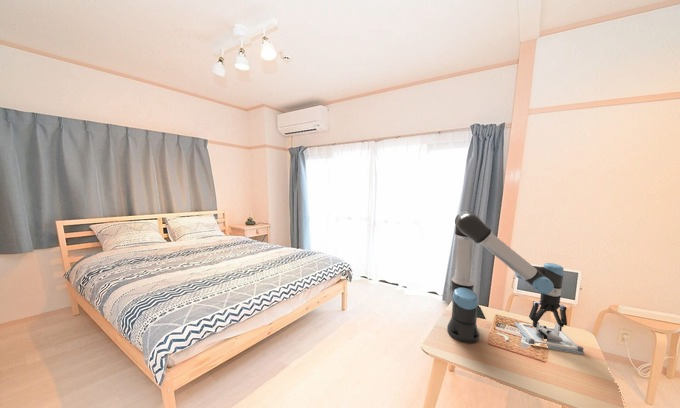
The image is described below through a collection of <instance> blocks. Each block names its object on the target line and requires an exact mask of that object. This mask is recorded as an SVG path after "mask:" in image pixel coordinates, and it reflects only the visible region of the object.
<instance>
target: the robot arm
mask: <svg viewBox="0 0 680 408" xmlns="http://www.w3.org/2000/svg"><path fill="white" fill-rule="evenodd" d="M454 223H455V229H454V230H455V231H454V235H455V237H456V238H457V242H456V253H455V269H454V276H453V277H452V278H451V283H450V286H449V293H450V297H451V302H452V309H451V318H450V319H449V322H448V324H447V328H446V329H447V334H448V335H449V336H450V337H451V338H453V339H454V340H456V341H458V342H461V343H465V344H475V343H478V342H479V341H480V333H479V328H478V326H477V319H478V318H477V308H478V305H479V296H478V294H477V293H476V292H475V291H474V289H475V288H474V287H475V282H474V281H473V280H472V275H473V264H474V263H473V262H474V250H475V244H477V245H481V246H482V247H483V248H485V249H486V250H488V251H489V252H490V253H491V254H493V256H494V257H496V258H497V259H498V260H499V261H500V262H502V263H503V264H504V265H506V266H507V267H508V268H509V269H510V270H512V272H514V275H515V277H516V278H517V279H521V280H524V282H526V283H528V284H529V285H530V286H531V287H532V288H533V289H534V290H535V291H537V292H538V293H540V299H539V301H536V300H533V301H532V307H531V310H530V313H529V316H528V317H529V319H530V320H531V321H532V324H533V326H534V332H535V333H536V334H537V335H538V331H539V325H540V322H539V321H540V319H541V318H542V317H543V316H544V314H545V313H547V312H550V313H551V312H552V314H553V316H554V320H555V321H556V322H555V323H554V327H553V328H554V333H555V334H557V335H558V336H559V332H560V331H562V329H563V327H565V326H568V320H567V313H566V312H567V309H568V308H567V307H566V306H565V305H564V304H560V303H561V295H562V288H563V286H562V285H563V281H564V280H563V278H564V273H565V271H564V267H563V266H562V265H560V264H556V263H551V262H545V263H544V265H543V266H539V265H532V264H531V263H530V262H528V261H527V260H526V258H525V259H524V258H523V257H522V256H521V255H520V254H518V252H516V251H515V250H514V249H512V248H511V247H510V246H508V245H507V244H506V243H505V242H504V241H503V240H501V239H500V238H499V237H497V236H496V235H495V234H493V230H492V229H491V228H490V227H488V226H487V225H486V224H485V223H484V221H483V220H482V219H481V218H480V217H479V216H478V215H477V214H476V213H474V212H471V211H461V212H460V213H458V214H457V215H456V217H455V219H454ZM558 309H559V312H558ZM559 313H560V315H559Z"/></svg>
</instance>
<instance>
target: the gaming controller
mask: <svg viewBox="0 0 680 408" xmlns="http://www.w3.org/2000/svg"><path fill="white" fill-rule="evenodd" d="M547 327H548V326H545V325H540V324H539V331H538V332H540V333H541V334H542V335H544V339H547V340H548V339H552V340H554V341H557V342H562V338H561V337H559V336H558V335H557V334H555V333H554V332H552V331H551V330H550V329H548V328H547Z"/></svg>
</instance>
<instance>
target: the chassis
mask: <svg viewBox="0 0 680 408" xmlns="http://www.w3.org/2000/svg"><path fill="white" fill-rule="evenodd" d="M514 323H515V325H516V326H517V328H518V329H519V330H520V331H521V332H522V334H523V335H524V336H525V337H526V338H527V340H528V341H529V342H530V344H534V343H543V344H547V346H548V348H547V350H548V349H549V350H553V351H554V350H555V351H559V352H560V351H561V352H565V353H566V352H567V353H572V354H573V353H574V354H577V355H585V351H584V346H583V347H582V346H580V345H577V344H576V343H575V342H574V341H573V340H572V339H571V338H569V336H568V335H566V333H564V332H563V331H562V330H561V331H560V332H559V337H561V338H562V342H557V341H554V340H552V339H548V340H547V341H546V342H545V341H542V340H543V338H544V335H542V334H541V333H540V332H538V335H537V334H536V333H535V332H534V329H533V328H530V327H529V326H531V327H534V326H533V323H532V324H531V323H525V322H514ZM515 325H514V326H515ZM546 327H547V328H548V329H550V330H551V331H552V332H554V328H555V327H554V326H553V327H552V326H551V327H550V326H546ZM517 328H516V329H517ZM518 329H517V330H518ZM519 330H518V331H519ZM522 334H521V335H522ZM538 340H539V341H538Z"/></svg>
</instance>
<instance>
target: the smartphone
mask: <svg viewBox="0 0 680 408" xmlns="http://www.w3.org/2000/svg"><path fill="white" fill-rule="evenodd" d="M479 306H480V305H479V304H478V308H477V319H484V320H487V319H486V317H485V314H484V312H483V310H482V308H481V306H480V307H479Z"/></svg>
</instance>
